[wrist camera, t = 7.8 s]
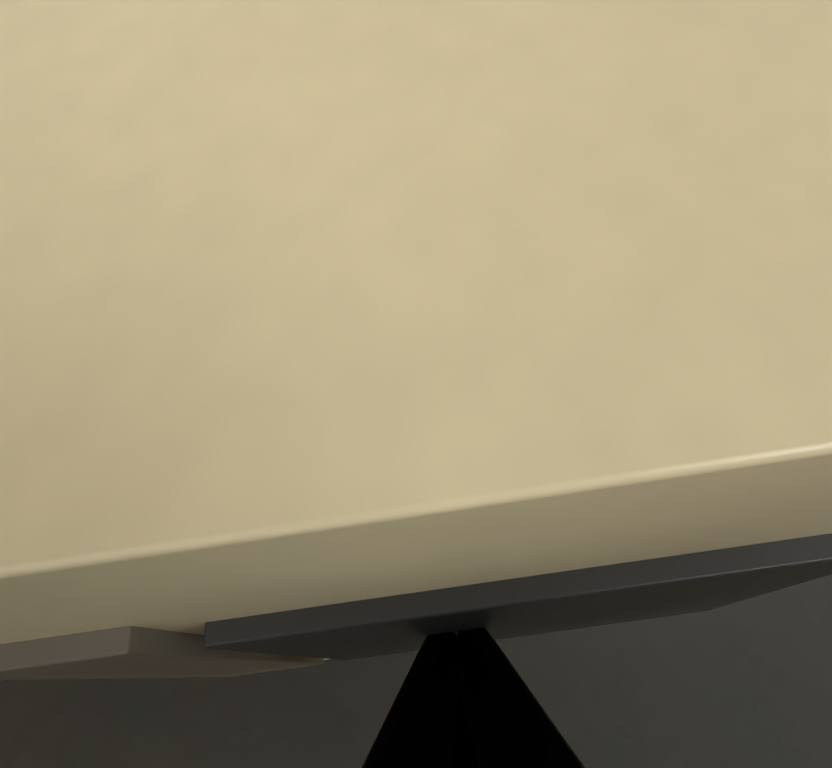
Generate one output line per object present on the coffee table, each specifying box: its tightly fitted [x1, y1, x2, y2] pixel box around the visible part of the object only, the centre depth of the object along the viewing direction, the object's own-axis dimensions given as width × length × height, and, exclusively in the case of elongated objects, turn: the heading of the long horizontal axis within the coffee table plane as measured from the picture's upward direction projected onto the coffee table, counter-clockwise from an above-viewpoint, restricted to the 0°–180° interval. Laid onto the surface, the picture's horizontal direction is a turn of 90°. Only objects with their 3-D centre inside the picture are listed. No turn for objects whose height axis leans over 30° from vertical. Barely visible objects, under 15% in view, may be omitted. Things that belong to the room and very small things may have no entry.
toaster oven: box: [0, 0, 832, 680], centre depth 12 cm, size 12×11×13 cm
